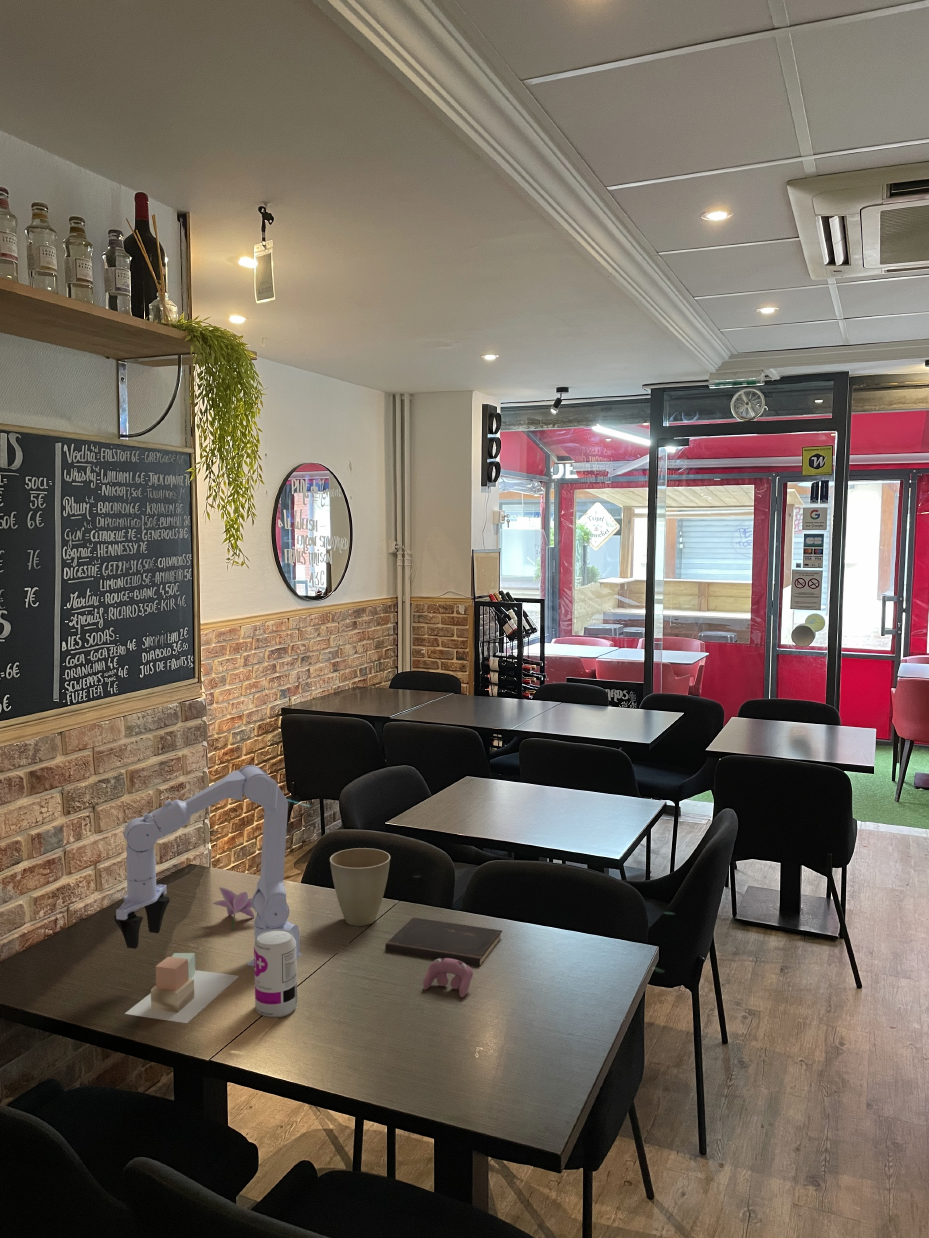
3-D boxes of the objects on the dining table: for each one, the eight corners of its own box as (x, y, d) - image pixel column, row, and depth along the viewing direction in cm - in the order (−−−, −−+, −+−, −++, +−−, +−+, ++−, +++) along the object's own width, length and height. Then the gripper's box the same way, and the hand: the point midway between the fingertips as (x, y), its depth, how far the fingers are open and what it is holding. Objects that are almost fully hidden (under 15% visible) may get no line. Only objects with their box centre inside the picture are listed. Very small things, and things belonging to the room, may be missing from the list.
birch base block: (194, 998, 184) (193, 979, 183) (177, 1012, 178) (177, 993, 178) (168, 994, 185) (168, 975, 185) (151, 1008, 180) (150, 989, 179)
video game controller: (471, 998, 187) (477, 963, 189) (463, 998, 183) (469, 961, 185) (428, 989, 191) (434, 955, 193) (419, 988, 187) (426, 953, 189)
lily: (270, 928, 221) (272, 888, 225) (235, 925, 212) (237, 883, 216) (235, 934, 227) (237, 894, 231) (200, 931, 218) (202, 890, 222)
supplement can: (261, 1023, 174) (260, 948, 173) (251, 1004, 182) (249, 932, 181) (302, 1013, 178) (301, 940, 177) (290, 995, 185) (288, 924, 184)
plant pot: (371, 937, 213) (370, 871, 212) (319, 926, 220) (317, 862, 218) (402, 913, 227) (401, 852, 225) (352, 904, 233) (351, 844, 232)
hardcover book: (413, 926, 221) (413, 916, 221) (502, 939, 213) (502, 930, 213) (385, 953, 206) (385, 943, 206) (479, 969, 198) (479, 959, 198)
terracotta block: (188, 980, 183) (187, 958, 183) (176, 990, 179) (175, 968, 178) (169, 977, 184) (168, 956, 184) (156, 988, 180) (155, 966, 179)
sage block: (195, 973, 195) (194, 952, 194) (188, 982, 190) (188, 962, 190) (174, 973, 195) (174, 952, 194) (167, 982, 190) (167, 962, 190)
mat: (239, 977, 193) (239, 975, 193) (186, 1024, 174) (186, 1022, 174) (182, 969, 197) (182, 968, 197) (124, 1015, 178) (124, 1013, 178)
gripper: (145, 863, 195) (147, 923, 196) (102, 887, 181) (104, 952, 182) (174, 865, 193) (176, 927, 194) (132, 890, 180) (134, 956, 181)
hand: (143, 939), depth 188 cm, fingers open, 7 cm apart
